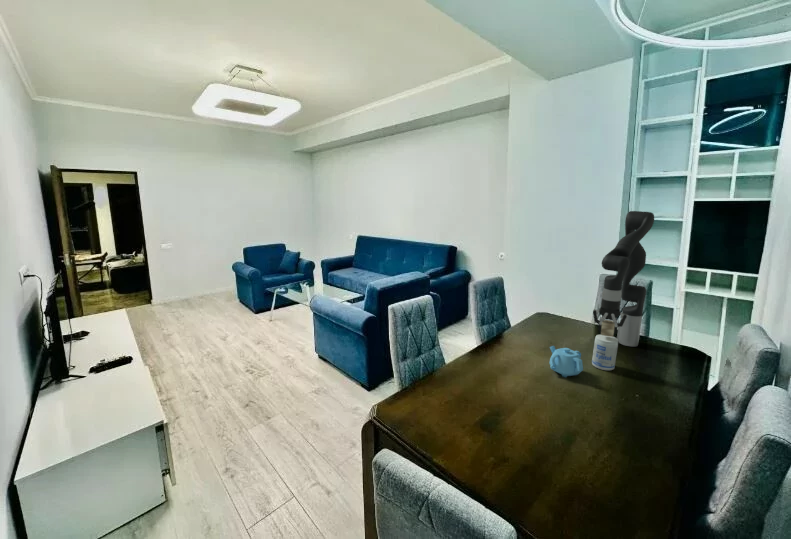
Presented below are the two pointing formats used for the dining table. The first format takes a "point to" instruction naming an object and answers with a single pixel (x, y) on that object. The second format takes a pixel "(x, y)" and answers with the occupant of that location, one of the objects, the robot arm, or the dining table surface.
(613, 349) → the supplement tub
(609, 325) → the maple block
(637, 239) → the robot arm
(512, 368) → the dining table surface
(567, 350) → the teapot
